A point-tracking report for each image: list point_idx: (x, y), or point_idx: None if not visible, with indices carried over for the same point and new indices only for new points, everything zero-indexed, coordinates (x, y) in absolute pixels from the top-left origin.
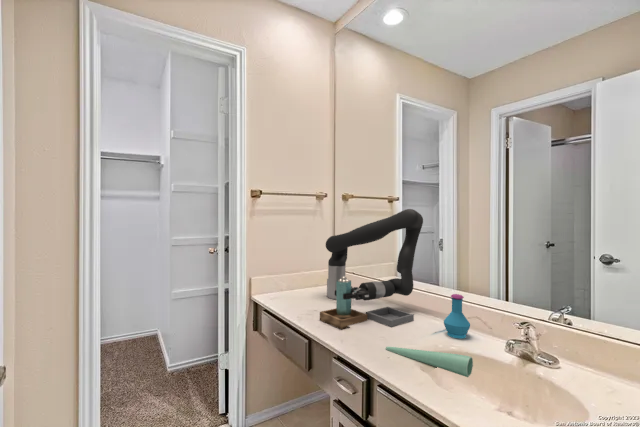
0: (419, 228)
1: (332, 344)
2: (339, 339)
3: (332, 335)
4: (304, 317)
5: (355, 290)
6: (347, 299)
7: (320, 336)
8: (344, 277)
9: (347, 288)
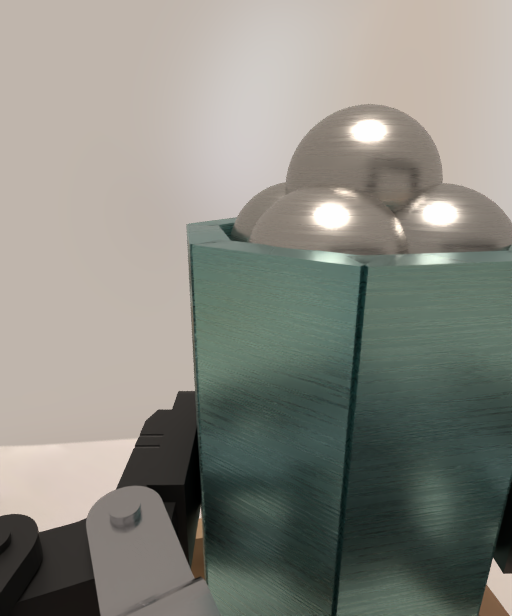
0: None
1: (3, 447)
2: (8, 497)
3: (87, 491)
4: None
5: (188, 614)
6: (202, 525)
7: (126, 442)
8: (311, 129)
9: (193, 351)
